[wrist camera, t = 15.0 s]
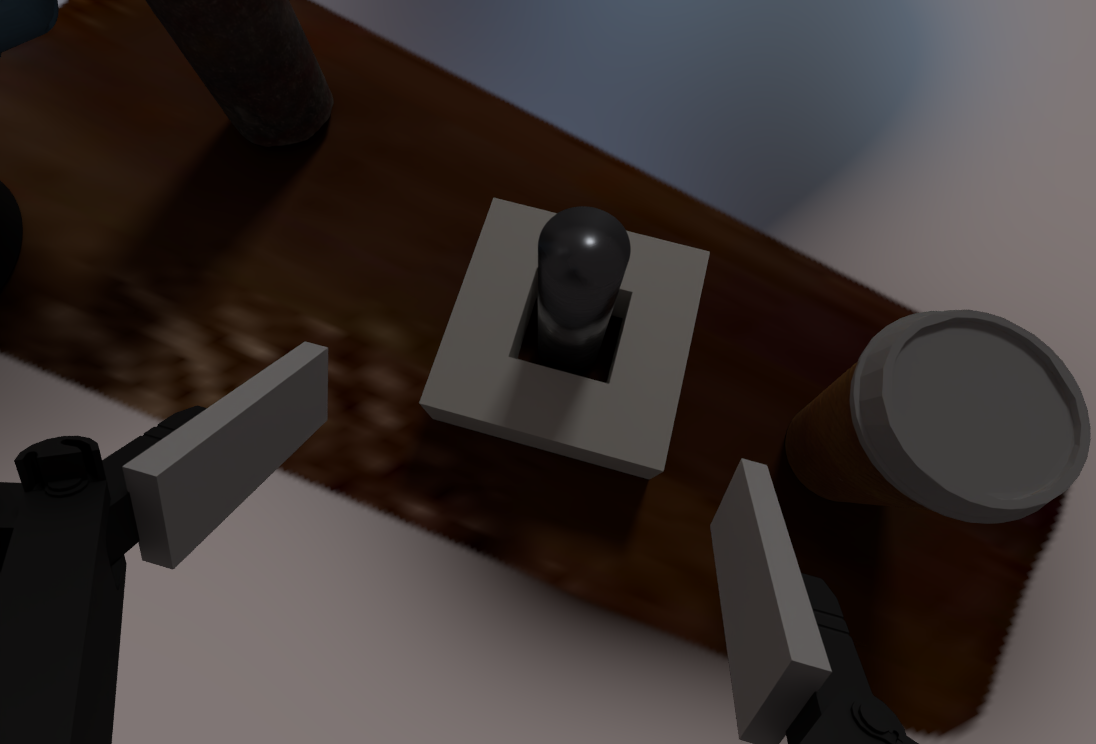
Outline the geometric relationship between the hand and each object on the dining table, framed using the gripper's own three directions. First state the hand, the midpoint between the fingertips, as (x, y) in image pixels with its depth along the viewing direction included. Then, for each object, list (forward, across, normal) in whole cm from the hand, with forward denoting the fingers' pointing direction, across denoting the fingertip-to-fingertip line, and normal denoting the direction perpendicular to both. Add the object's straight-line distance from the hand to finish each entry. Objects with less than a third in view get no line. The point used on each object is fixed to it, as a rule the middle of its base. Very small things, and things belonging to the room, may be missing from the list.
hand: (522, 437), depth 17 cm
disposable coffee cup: (+17, +18, -7) cm, 26 cm away
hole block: (+19, 0, -5) cm, 19 cm away
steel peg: (+18, 0, -5) cm, 19 cm away
